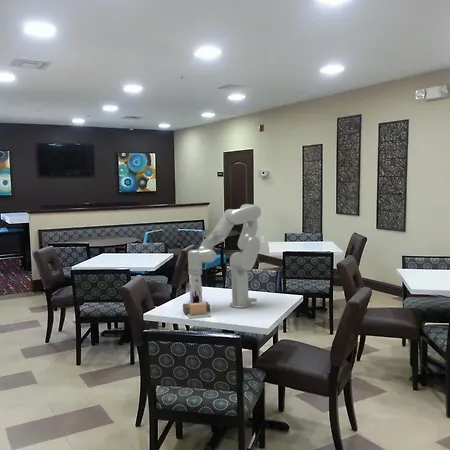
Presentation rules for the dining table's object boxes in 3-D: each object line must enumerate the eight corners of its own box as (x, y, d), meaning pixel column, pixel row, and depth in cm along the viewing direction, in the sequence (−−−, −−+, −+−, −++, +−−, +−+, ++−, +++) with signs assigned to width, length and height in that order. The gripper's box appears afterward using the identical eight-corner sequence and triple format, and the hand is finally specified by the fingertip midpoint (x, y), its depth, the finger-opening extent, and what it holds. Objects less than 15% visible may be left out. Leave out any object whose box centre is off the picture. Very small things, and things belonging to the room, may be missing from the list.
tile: (205, 302, 260) (206, 304, 257) (205, 311, 262) (206, 313, 260) (189, 303, 258) (190, 305, 256) (189, 312, 260) (190, 315, 258)
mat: (208, 313, 263) (208, 312, 263) (211, 316, 255) (211, 315, 255) (187, 315, 260) (187, 314, 260) (189, 318, 253) (189, 317, 253)
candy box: (202, 305, 280) (201, 278, 278) (192, 306, 278) (191, 278, 277) (199, 299, 293) (198, 273, 292) (189, 300, 292) (188, 274, 290)
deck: (207, 308, 272) (206, 301, 272) (210, 312, 263) (209, 305, 263) (183, 310, 269) (182, 303, 269) (185, 314, 260) (185, 307, 260)
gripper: (204, 273, 257) (205, 306, 258) (199, 269, 271) (200, 300, 273) (190, 274, 255) (191, 307, 257) (186, 270, 270) (188, 301, 271)
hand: (196, 303), depth 265 cm, fingers closed
